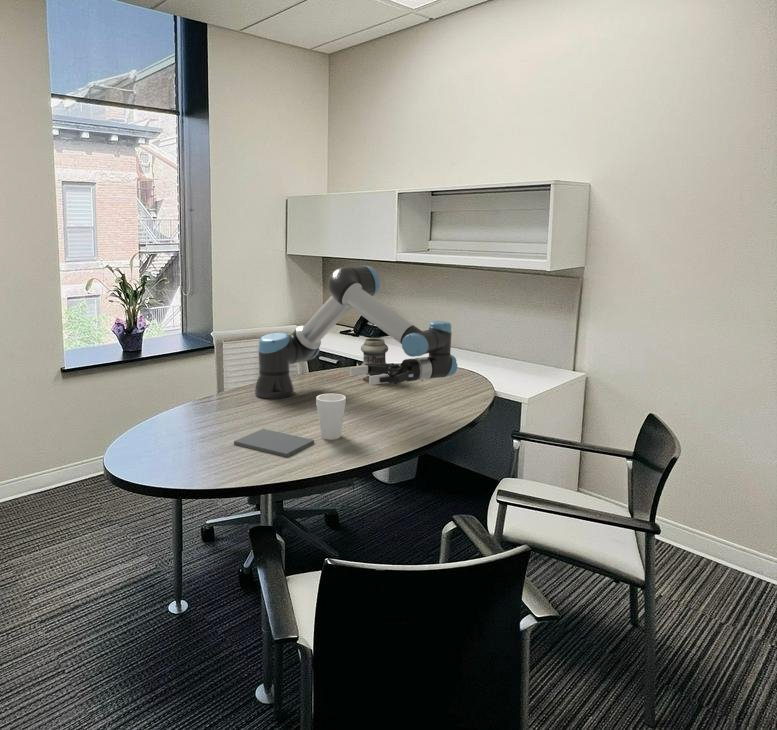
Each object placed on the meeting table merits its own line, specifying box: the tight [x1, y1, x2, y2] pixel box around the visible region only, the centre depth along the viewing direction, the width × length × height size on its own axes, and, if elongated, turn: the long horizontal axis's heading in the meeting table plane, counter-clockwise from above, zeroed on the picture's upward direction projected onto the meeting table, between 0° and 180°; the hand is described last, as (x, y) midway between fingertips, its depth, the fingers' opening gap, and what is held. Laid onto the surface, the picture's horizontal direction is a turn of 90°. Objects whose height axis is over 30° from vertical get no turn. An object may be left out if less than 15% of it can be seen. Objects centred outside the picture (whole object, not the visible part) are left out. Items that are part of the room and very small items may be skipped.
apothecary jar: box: [360, 337, 389, 383], centre depth 276 cm, size 12×12×18 cm
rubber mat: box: [233, 428, 315, 458], centre depth 198 cm, size 20×14×1 cm
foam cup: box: [315, 393, 347, 441], centre depth 204 cm, size 10×9×13 cm
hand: (359, 375), depth 206 cm, fingers open, 13 cm apart
